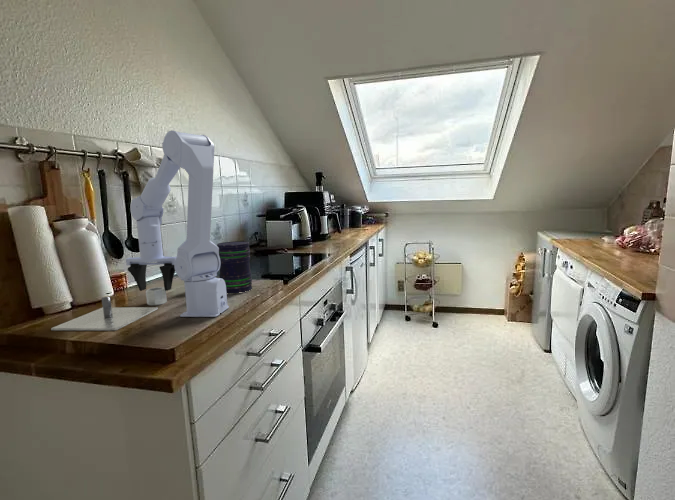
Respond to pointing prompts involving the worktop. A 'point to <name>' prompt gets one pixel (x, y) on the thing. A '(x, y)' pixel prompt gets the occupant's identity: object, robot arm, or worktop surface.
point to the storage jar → (235, 266)
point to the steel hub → (156, 296)
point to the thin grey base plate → (106, 318)
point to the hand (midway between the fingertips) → (155, 289)
